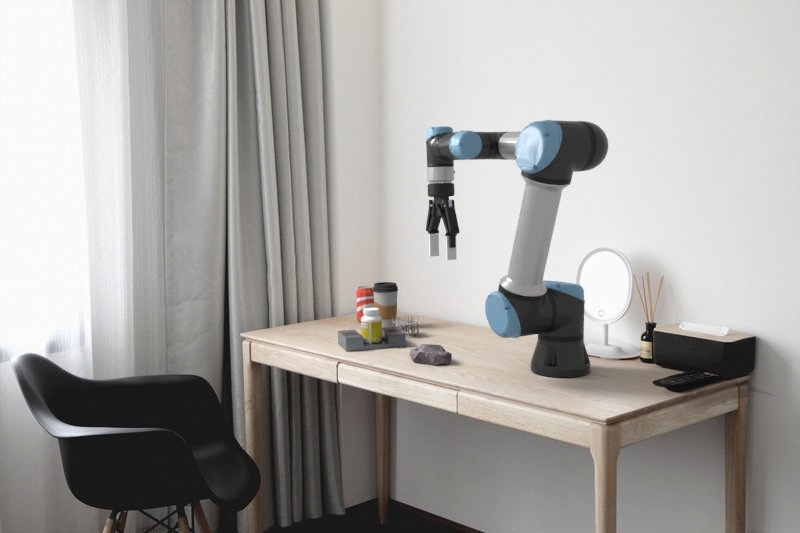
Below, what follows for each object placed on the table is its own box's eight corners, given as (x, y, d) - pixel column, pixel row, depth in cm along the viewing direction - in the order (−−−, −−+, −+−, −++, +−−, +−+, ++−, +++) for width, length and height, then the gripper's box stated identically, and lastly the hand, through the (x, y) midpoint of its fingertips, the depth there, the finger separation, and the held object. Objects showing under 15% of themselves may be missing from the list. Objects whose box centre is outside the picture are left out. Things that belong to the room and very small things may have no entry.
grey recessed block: (405, 346, 246) (405, 333, 245) (346, 351, 241) (345, 337, 240) (395, 339, 256) (394, 326, 256) (338, 343, 251) (337, 330, 251)
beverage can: (367, 319, 291) (366, 285, 290) (378, 321, 286) (377, 287, 285) (353, 321, 287) (352, 287, 286) (364, 323, 282) (363, 289, 281)
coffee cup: (369, 327, 275) (368, 283, 274) (392, 325, 279) (391, 281, 277) (379, 332, 268) (378, 286, 266) (402, 329, 271) (402, 284, 270)
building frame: (408, 332, 267) (408, 314, 266) (421, 337, 260) (421, 318, 259) (391, 335, 264) (391, 316, 263) (404, 339, 257) (404, 320, 256)
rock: (438, 368, 220) (438, 351, 219) (405, 362, 227) (405, 345, 226) (457, 363, 226) (457, 346, 225) (424, 357, 233) (424, 341, 233)
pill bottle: (383, 343, 251) (382, 307, 250) (380, 347, 245) (380, 310, 244) (363, 343, 252) (362, 307, 250) (360, 347, 246) (359, 310, 244)
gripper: (470, 181, 223) (472, 260, 225) (437, 182, 246) (439, 254, 248) (444, 182, 221) (446, 261, 222) (413, 183, 244) (415, 255, 246)
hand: (442, 258), depth 235 cm, fingers open, 13 cm apart
